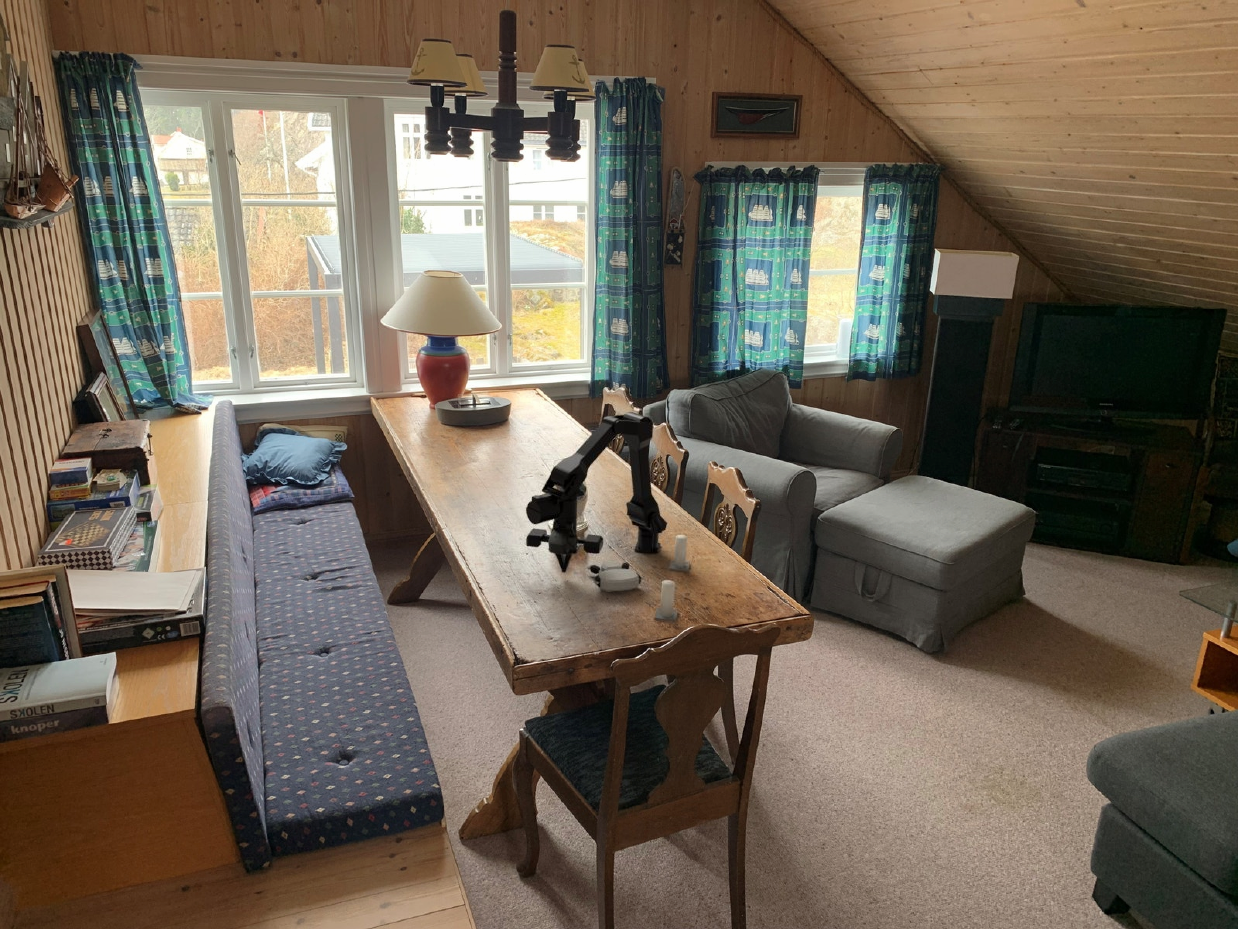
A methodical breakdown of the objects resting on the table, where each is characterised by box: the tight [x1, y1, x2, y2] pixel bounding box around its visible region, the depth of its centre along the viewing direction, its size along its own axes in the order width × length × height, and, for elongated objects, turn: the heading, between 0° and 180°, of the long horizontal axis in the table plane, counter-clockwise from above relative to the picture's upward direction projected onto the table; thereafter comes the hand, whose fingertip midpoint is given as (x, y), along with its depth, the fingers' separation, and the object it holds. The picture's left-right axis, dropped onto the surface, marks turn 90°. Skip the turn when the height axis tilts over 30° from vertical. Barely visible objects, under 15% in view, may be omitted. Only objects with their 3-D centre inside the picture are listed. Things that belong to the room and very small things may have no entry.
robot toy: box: [586, 560, 646, 593], centre depth 224 cm, size 12×4×15 cm
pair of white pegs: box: [653, 534, 691, 623], centre depth 221 cm, size 33×5×9 cm, turn 170°
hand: (564, 571), depth 226 cm, fingers closed
